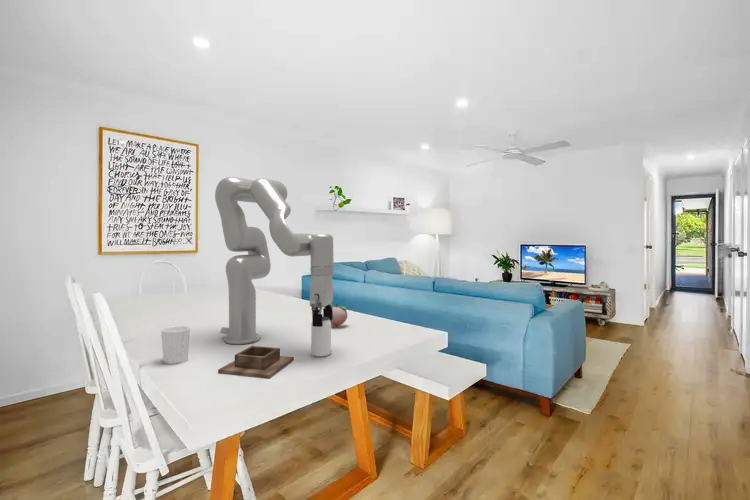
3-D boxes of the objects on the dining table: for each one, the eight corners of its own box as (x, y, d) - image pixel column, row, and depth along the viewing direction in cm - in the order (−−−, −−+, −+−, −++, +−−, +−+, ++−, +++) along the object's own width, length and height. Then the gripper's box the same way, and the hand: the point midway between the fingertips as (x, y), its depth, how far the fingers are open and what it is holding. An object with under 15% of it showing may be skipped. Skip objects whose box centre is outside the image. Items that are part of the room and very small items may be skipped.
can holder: (218, 373, 111) (218, 357, 111) (248, 355, 127) (248, 342, 126) (269, 378, 107) (269, 362, 107) (294, 360, 123) (294, 346, 123)
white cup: (170, 366, 116) (170, 333, 115) (156, 361, 120) (155, 329, 119) (195, 359, 122) (195, 328, 122) (180, 355, 127) (180, 324, 126)
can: (327, 358, 126) (327, 321, 125) (308, 356, 127) (308, 320, 126) (333, 352, 132) (333, 317, 132) (315, 350, 133) (315, 315, 133)
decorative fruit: (323, 328, 164) (323, 304, 163) (328, 324, 172) (328, 301, 171) (344, 329, 162) (345, 306, 162) (349, 325, 170) (349, 302, 170)
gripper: (320, 269, 137) (321, 317, 138) (300, 273, 121) (301, 328, 121) (341, 269, 136) (341, 318, 136) (323, 274, 119) (324, 329, 120)
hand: (322, 323), depth 129 cm, fingers open, 9 cm apart
